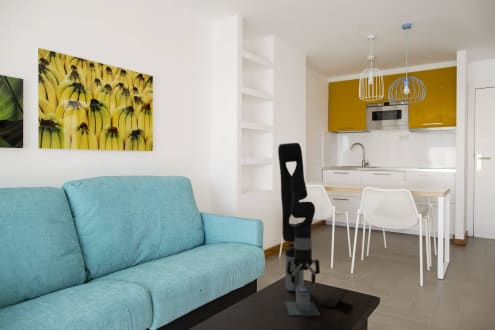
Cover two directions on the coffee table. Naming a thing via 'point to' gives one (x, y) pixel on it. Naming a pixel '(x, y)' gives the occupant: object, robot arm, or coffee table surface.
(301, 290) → the medicine box
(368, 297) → the coffee table surface
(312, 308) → the rubber mat
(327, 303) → the handheld gaming console
